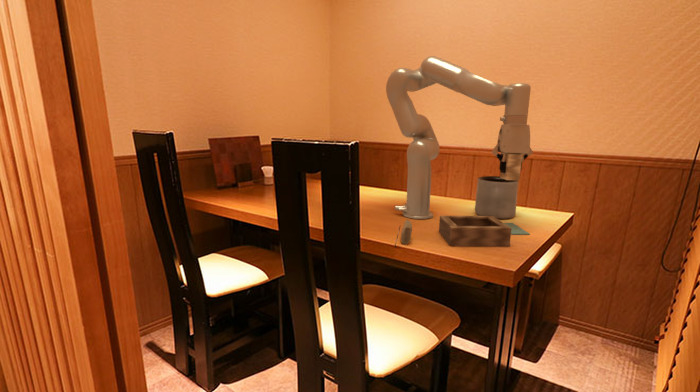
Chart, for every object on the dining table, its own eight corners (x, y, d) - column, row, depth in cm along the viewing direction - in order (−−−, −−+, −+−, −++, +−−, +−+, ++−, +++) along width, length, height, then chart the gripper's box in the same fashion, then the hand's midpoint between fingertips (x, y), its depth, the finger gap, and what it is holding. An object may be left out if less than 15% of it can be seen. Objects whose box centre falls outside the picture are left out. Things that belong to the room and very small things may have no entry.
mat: (495, 234, 130) (495, 233, 130) (481, 223, 144) (481, 222, 144) (529, 234, 130) (529, 233, 130) (512, 223, 144) (512, 222, 144)
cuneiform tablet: (394, 247, 116) (395, 235, 128) (408, 251, 116) (408, 238, 127) (400, 226, 115) (400, 216, 126) (414, 229, 114) (413, 219, 126)
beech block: (506, 180, 130) (509, 154, 128) (499, 177, 136) (502, 152, 134) (519, 180, 130) (522, 154, 128) (512, 177, 136) (514, 152, 134)
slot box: (450, 246, 118) (451, 227, 116) (438, 231, 132) (439, 215, 131) (509, 246, 118) (511, 228, 117) (491, 232, 132) (493, 215, 131)
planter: (516, 221, 146) (520, 183, 143) (473, 217, 152) (476, 180, 149) (513, 212, 161) (517, 177, 158) (475, 209, 167) (478, 174, 163)
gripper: (495, 120, 125) (490, 173, 129) (545, 121, 125) (538, 174, 129) (487, 120, 132) (482, 170, 136) (534, 120, 132) (528, 171, 136)
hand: (510, 172), depth 132 cm, fingers closed on beech block, 4 cm apart
